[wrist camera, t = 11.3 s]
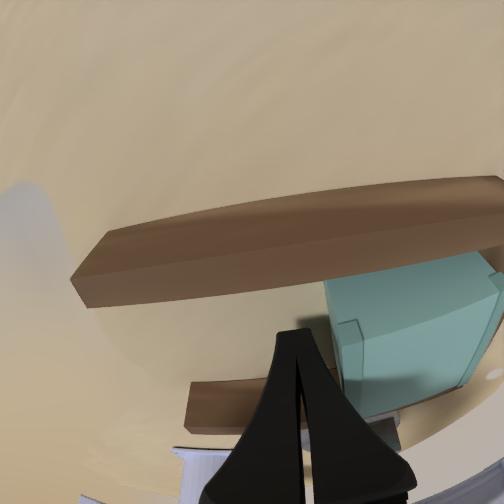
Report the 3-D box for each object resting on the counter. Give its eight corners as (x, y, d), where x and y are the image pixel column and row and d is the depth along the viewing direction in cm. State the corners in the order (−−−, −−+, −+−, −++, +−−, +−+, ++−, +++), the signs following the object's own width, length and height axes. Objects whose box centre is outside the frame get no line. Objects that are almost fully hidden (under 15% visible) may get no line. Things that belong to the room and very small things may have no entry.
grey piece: (382, 415, 19) (393, 466, 14) (300, 431, 19) (304, 484, 15) (400, 373, 15) (421, 439, 11) (295, 395, 16) (300, 467, 12)
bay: (445, 350, 14) (462, 386, 11) (197, 392, 16) (191, 433, 13) (496, 175, 8) (542, 206, 5) (107, 231, 10) (69, 279, 7)
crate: (437, 324, 12) (467, 383, 9) (332, 355, 13) (345, 425, 10) (455, 224, 9) (513, 285, 6) (317, 259, 10) (341, 347, 7)
